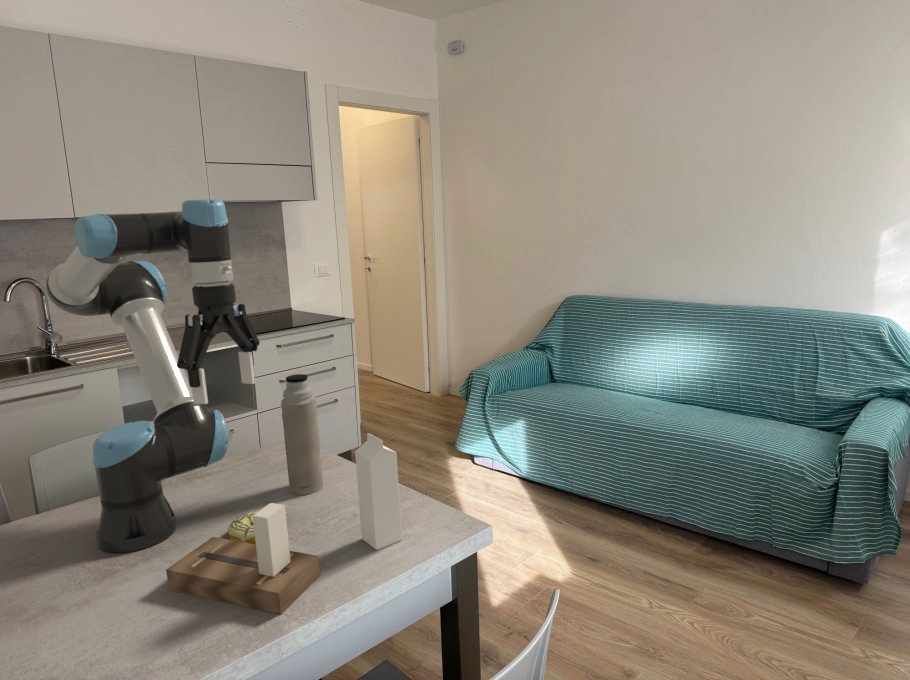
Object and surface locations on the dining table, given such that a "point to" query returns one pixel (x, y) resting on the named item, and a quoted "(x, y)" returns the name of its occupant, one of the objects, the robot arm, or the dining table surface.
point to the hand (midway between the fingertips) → (225, 392)
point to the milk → (378, 493)
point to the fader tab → (271, 539)
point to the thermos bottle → (301, 436)
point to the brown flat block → (241, 576)
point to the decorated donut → (243, 528)
